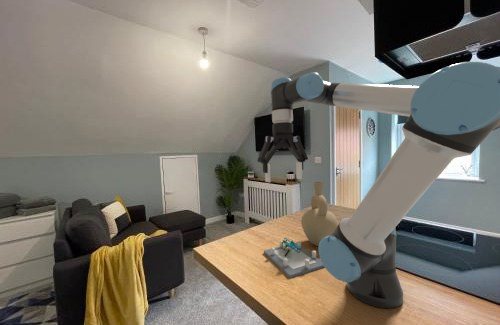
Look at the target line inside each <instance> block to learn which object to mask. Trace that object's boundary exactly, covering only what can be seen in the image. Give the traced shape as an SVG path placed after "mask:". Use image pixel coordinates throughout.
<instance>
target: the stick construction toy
mask: <svg viewBox="0 0 500 325" xmlns="http://www.w3.org/2000/svg"><path fill="white" fill-rule="evenodd" d="M282 241H283V245H284V246H285V247H284V249H283V250H285V249H286V248H287V247H289V248H288V251H287V252H286V254H285V255H284V256H285V257H286V256H287V254H288V253H289V251H291V250H292V249H294V248H297V247H298V248H300V247H299V246H297V245H295V244H294V243H295V242H294V240H292V239H291V240H290V239H288V238H287V237H284V238H283V239H282ZM290 244H291V245H290ZM293 245H294V246H295V247H293ZM298 248H297V250H295V249H294V250H295V251H296V252H298ZM300 249H301V248H300ZM300 249H299V250H300ZM298 253H300V251H299V252H298Z"/></svg>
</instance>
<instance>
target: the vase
mask: <svg viewBox="0 0 500 325" xmlns="http://www.w3.org/2000/svg"><path fill="white" fill-rule="evenodd" d="M312 183H313V187H314V194H313V195H312V196H311V199H310V203H311V204H310V206H311V209H309V210H306V211H305V213H303V215H302V217H301V222H300V223H301V226H302V230H303V232H304V235H305V237H306V238H307V240H308V241H309V242H310V244H312V245H314V246H316V247H319V243H320V241H321V240H322V239H323V238H324V237H325V236H328V235H331V234H332V233H333V232H334V230H335V229H336V227H337V226H338V224H339V221H338V218H337V217H336V216H335V214H334V213H333V212H331V211H329V210H328V207H329V206H328V202H327V199H326V197H325V196H324V195H323V187H324V182H322V181H314V182H312Z"/></svg>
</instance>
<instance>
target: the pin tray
mask: <svg viewBox="0 0 500 325" xmlns="http://www.w3.org/2000/svg"><path fill="white" fill-rule="evenodd" d="M294 244H295V245H297V246H299V247H300V248H301V249H300V248H298V247H297V248H298V252H299V251H300V253H298V252H296V251H295V250H297V248H294V249H295V250H294V249H292V250H291V251H289V253H288V254H287V256H286V257H285V256H284V255H285V254H286V252H287V251H288V248H289V247H287V248H286V249H285V250H283V249H284V247H285V245H284V243H283V240H279V246H278V247H273V246H272V247H270V248H269V249H264V250H263V254H264V255H265V256H266V257H267V258H269V259H270V261H271V262H272V263H273V264H274V265H275V266H276V267H278V269H280V270H281V272H283V273H284V274H285V275H286V276H287V277H288V278H289V279H293V278H296V277H299V276H301V275H305V274H307V273H308V274H309V273H311V272H314V271H318V270H320V269H323V268H324V269H325V267H324V265H323V263H322V261H321V259H320V258H318V256H317V251H316V250H314V249H313V250H312V251H311V252H310V251H308V250H307V249H306V248H304V247H303V246H302V241H301V240H298V241H297V242H294ZM290 245H291V244H290ZM293 247H295V246H294V245H293ZM299 249H300V250H299Z"/></svg>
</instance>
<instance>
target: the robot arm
mask: <svg viewBox="0 0 500 325" xmlns="http://www.w3.org/2000/svg"><path fill="white" fill-rule="evenodd" d="M270 88H271V91H270V94H271V120H272V123H273V124H272V130H271V131H272V136H270V135H268V136H267V135H266V136H265V138H264V144H263V146H262V148H261V150H260V153H259V156H258V157H257V162H258V163H261V164H262V172H263V173H264V180H265V183H271V181H272V180H271V179H272V178H271V164H270V163H269V162H270V161H271V159H272V158H273V157H274V156H275V154H276V152H277V150H279V149H287V150H289V151H290V153H291V154H292V155H293V156H294V158H295V159H296V161H295V167H296V168H295V170H296V173H295V174H296V175H295V176H296V180H297V179H298V180H303V171H304V162H306V161H308V160H309V157H308V155H307V152H306V151H305V149H304V145H303V144H302V141H301V136H300V135H296V136H295V135H294V136H293V133H294V124H293V121H294V114H293V109H294V108H293V106H294V104H298V103H301V102H306V103H313V104H321V105H323V106H324V105H326V106H329V107H331V106H332V107H333V106H334V107H341V108H347V109H354V110H361V111H368V112H375V113H381V114H389V115H396V116H403V117H408V118H407V119H406V121H405V122H404V124H403V126H402V127H401V130H402V133H403V136H404V138H403V140H402V142H401V143H400V145H399V146H398V147H397V149H396V150H395V152H394V153H393V155H392V156H391V158H390V159H389V160H388V162H387V164H386V165H385V167H384V168H383V169H382V171H381V173H379V175H378V177H377V179H376V180H375V181H374V183H373V184H372V185H371V187H370V189H369V190H368V191H367V193H366V194H365V195H364V197H363V199H362V200H361V202H360V203H359V204H358V206H357V207H356V209H355V211H354V212H353V213H352V215H351V216H350V217H344V218H341V220H340V221H339V222H338V226H337V227H336V229H335V230H334V232H333V233H332V234H331V235H328V236H325V237H324V238H323V239H322V240H321V241H320V243H319V246H317V247H318V255H319V257H320V258H319V259H320V260H321V261H322V263H323V265H324V269H325V270H326V271H327V272H328V273H329V274H330V275H331V276H332V277H333V278H335V279H336V280H338V281H341V282H343V283H346V286H347V289H348V291H349V292H350V294H352V296H353V297H355V298H356V299H357V300H359V301H361V302H363V303H365V304H367V305H370V306H373V307H376V308H382V309H394V308H398V307H400V306H402V304H403V302H404V290H403V288H402V286H401V282H400V280H399V277H398V274H397V232H396V230H397V229H396V227H397V226H398V225H399V224H400V222H402V220H403V219H404V218H405V217H406V216H407V214H408V213H409V212H410V211H411V209H412V208H413V207H414V206H415V204H416V203H418V201H419V200H420V199H421V198H422V196H423V195H424V194H425V193H426V191H428V190H429V188H430V187H431V186H432V185H433V183H434V182H435V181H436V180H437V178H439V176H441V174H442V172H444V170H446V168H447V167H448V166H449V165H450V163H451V162H452V161H453V160H454V159H456V158H460V157H465V156H466V157H467V156H471V155H472V154H473V153H474V152H475V150H476V149H477V148H478V147H479V146H480V145H481V144H482V142H483V141H485V139H486V138H487V137H488V136H489V135H490V134H491V133H492V132H493V131H496V130H497V129H500V66H495V65H493V64H491V63H488V62H483V61H463V62H459V63H455V64H451V65H449V66H445V67H442V68H441V69H438V70H437V71H435V72H433V73H431V74H430V75H429V76H428V77H427V78H425V79H424V80H423V81H422V82H421V83H420V84H419V85H418V86H417V85H413V86H412V85H396V84H395V85H393V84H390V85H389V84H373V83H372V84H369V83H368V84H367V83H348V82H347V83H344V82H342V83H341V82H329V81H326V80H323V78H322V76H321V75H320V74H319V72H315V71H314V72H313V71H312V72H310V73H304V74H303V75H301V76H299V77H297V78H295V79H291V78H289V77H279V78H275V79H273V81H272V82H271V87H270ZM272 142H273V144H272V146H271V143H272ZM270 146H271V148H270ZM269 148H270V150H269Z"/></svg>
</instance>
